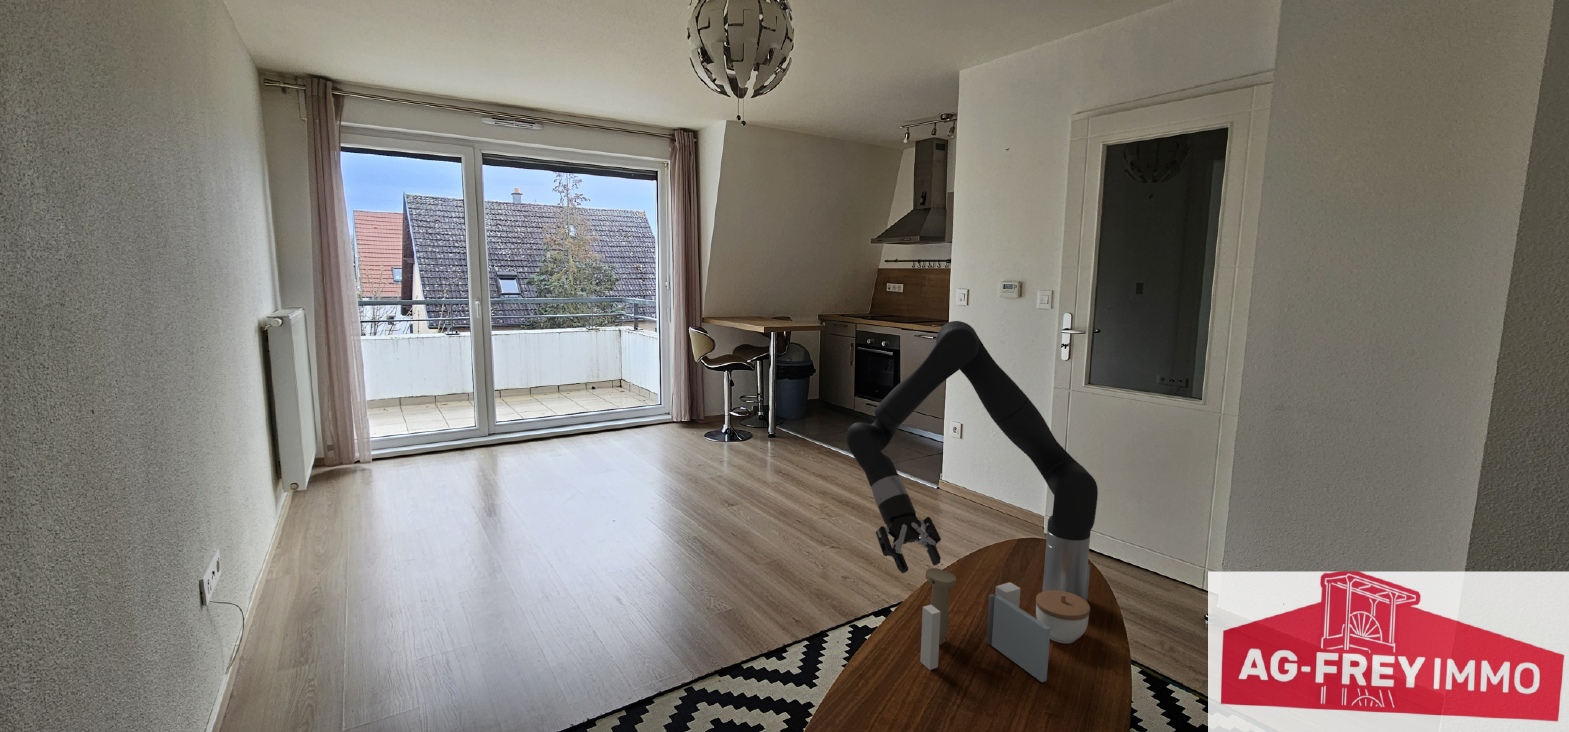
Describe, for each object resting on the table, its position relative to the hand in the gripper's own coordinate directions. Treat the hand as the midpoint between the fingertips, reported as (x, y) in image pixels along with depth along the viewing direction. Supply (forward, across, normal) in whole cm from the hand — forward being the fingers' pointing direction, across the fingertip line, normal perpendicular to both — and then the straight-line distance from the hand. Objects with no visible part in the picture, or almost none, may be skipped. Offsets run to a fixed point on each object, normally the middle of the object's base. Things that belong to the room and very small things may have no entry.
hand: (921, 567), depth 147 cm
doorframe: (+18, +4, +1) cm, 19 cm away
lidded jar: (+21, +25, -2) cm, 33 cm away
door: (+23, +9, -4) cm, 25 cm away
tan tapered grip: (+14, 0, +5) cm, 15 cm away
